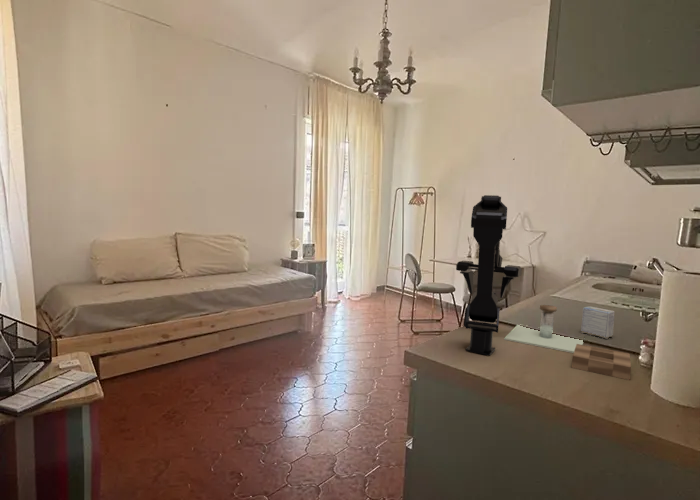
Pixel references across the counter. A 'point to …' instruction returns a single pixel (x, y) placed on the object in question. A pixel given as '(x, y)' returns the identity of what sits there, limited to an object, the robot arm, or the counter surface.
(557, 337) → the sage mat
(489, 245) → the robot arm
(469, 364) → the counter surface
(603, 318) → the medicine box
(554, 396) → the counter surface
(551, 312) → the metal peg
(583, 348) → the walnut block
